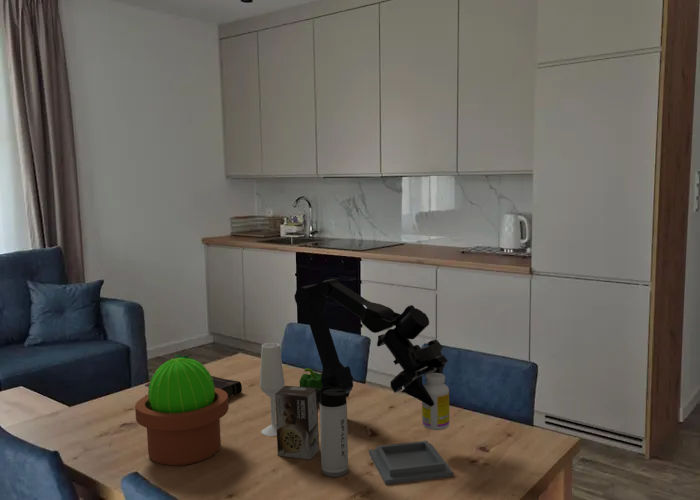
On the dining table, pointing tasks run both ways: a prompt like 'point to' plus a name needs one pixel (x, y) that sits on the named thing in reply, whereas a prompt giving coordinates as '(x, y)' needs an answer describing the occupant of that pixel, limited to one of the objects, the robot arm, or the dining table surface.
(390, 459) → the holder board
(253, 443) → the dining table surface
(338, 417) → the travel mug
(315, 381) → the bell pepper
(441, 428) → the supplement bottle
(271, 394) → the champagne flute
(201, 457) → the potted cactus
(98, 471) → the dining table surface
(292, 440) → the cookie box
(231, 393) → the diary
